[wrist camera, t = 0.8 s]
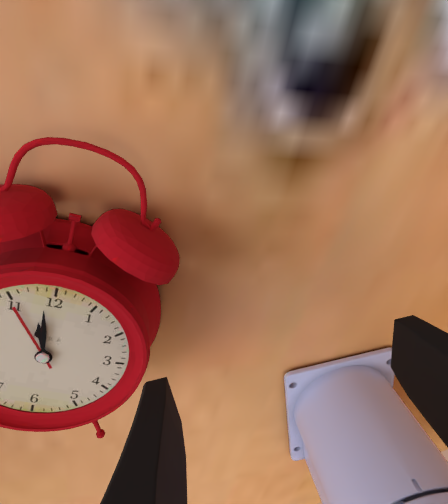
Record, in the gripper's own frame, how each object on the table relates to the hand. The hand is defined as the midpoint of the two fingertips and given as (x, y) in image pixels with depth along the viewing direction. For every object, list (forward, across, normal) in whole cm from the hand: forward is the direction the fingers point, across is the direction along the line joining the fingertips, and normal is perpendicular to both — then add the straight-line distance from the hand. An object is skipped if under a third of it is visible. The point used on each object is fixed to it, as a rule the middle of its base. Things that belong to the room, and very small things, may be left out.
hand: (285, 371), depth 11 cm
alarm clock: (+10, +9, 0) cm, 13 cm away
